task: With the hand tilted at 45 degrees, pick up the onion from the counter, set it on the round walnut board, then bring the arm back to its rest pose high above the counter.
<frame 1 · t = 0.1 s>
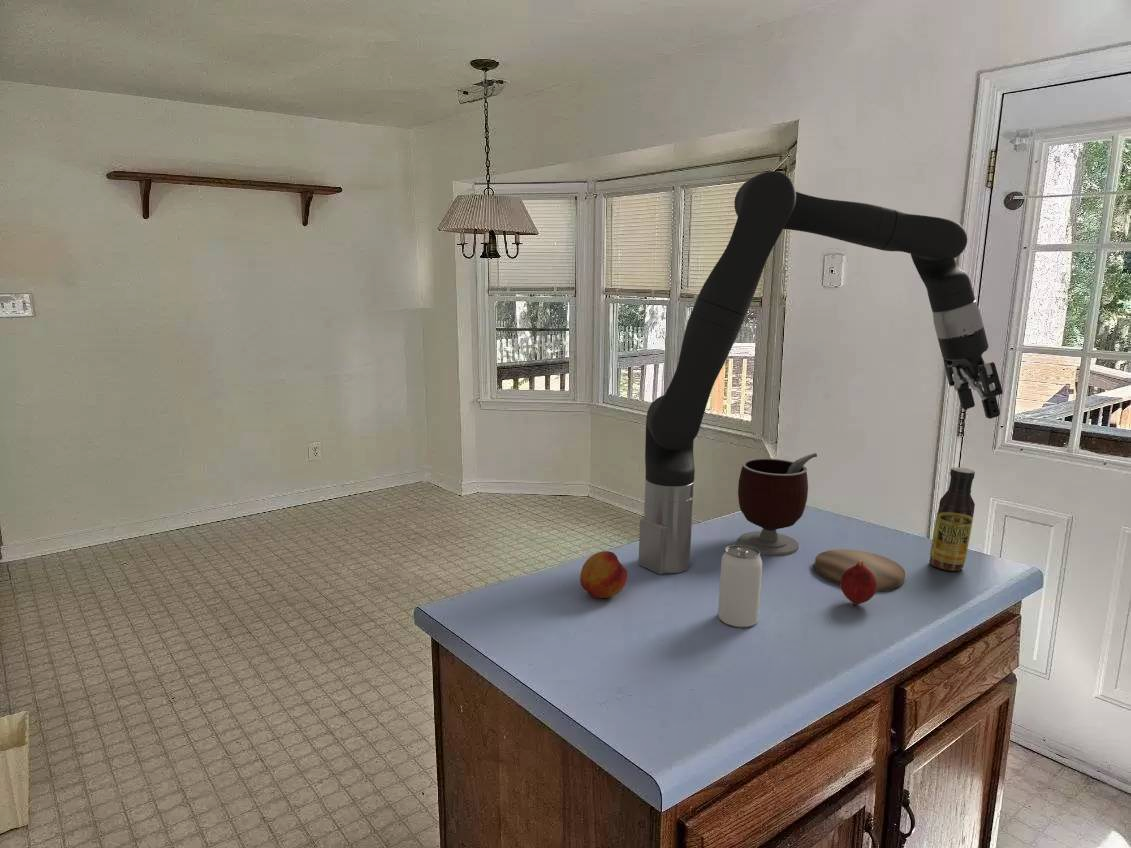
hand: (980, 412, 134), 31 cm above the counter, tool tilted 20°, fingers open, 8 cm apart
mate gourd: (772, 545, 153), on the counter
sauce bottle: (947, 567, 142), on the counter
can: (737, 620, 120), on the counter
fruit: (603, 596, 127), on the counter
walnut board: (858, 572, 139), on the counter
onion: (856, 605, 126), on the counter
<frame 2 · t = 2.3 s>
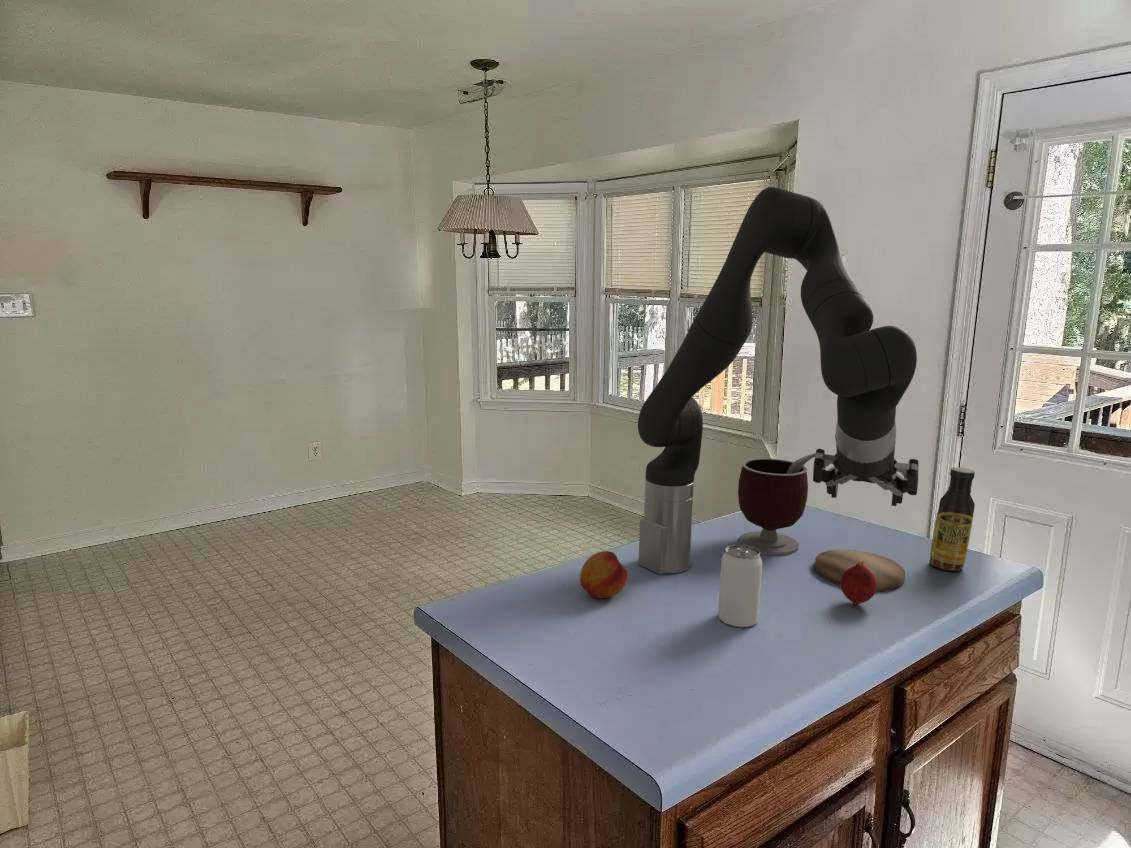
hand: (864, 496, 111), 23 cm above the counter, tool tilted 45°, fingers open, 8 cm apart
nothing on the counter moved.
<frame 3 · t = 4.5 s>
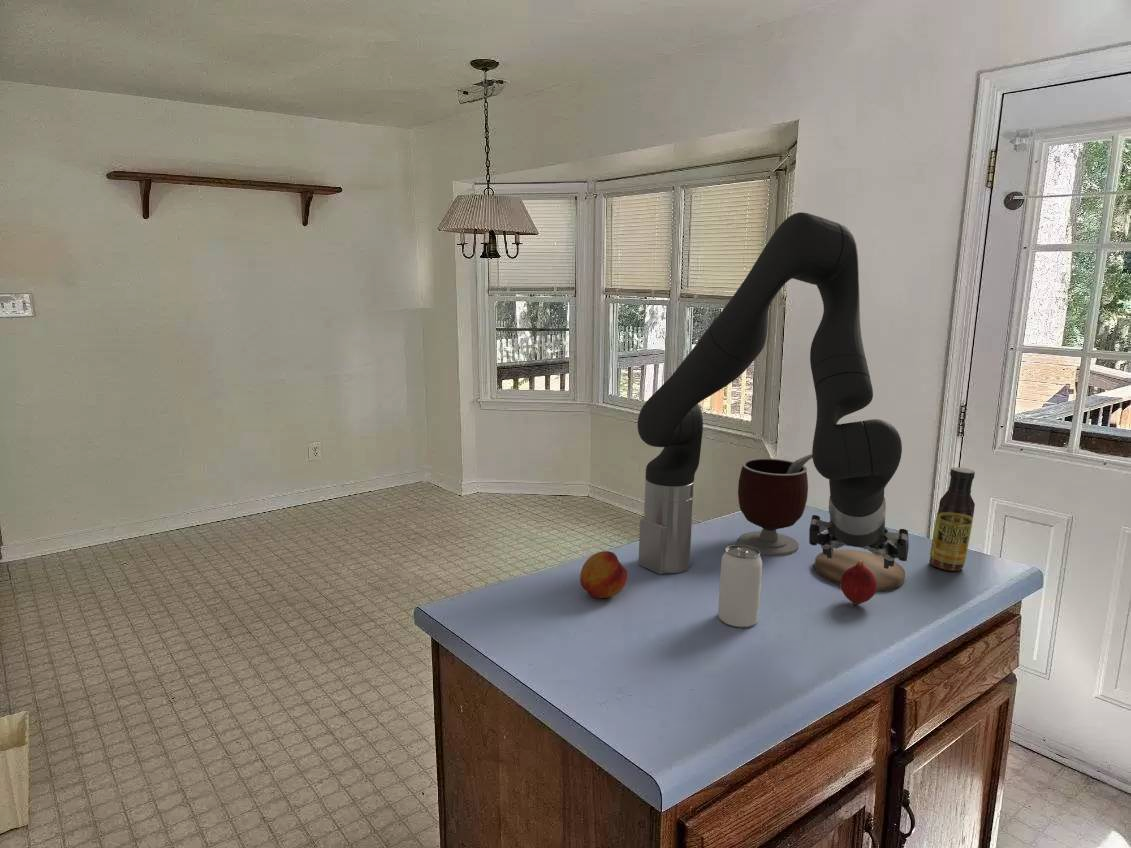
hand: (858, 558, 117), 11 cm above the counter, tool tilted 45°, fingers open, 8 cm apart
nothing on the counter moved.
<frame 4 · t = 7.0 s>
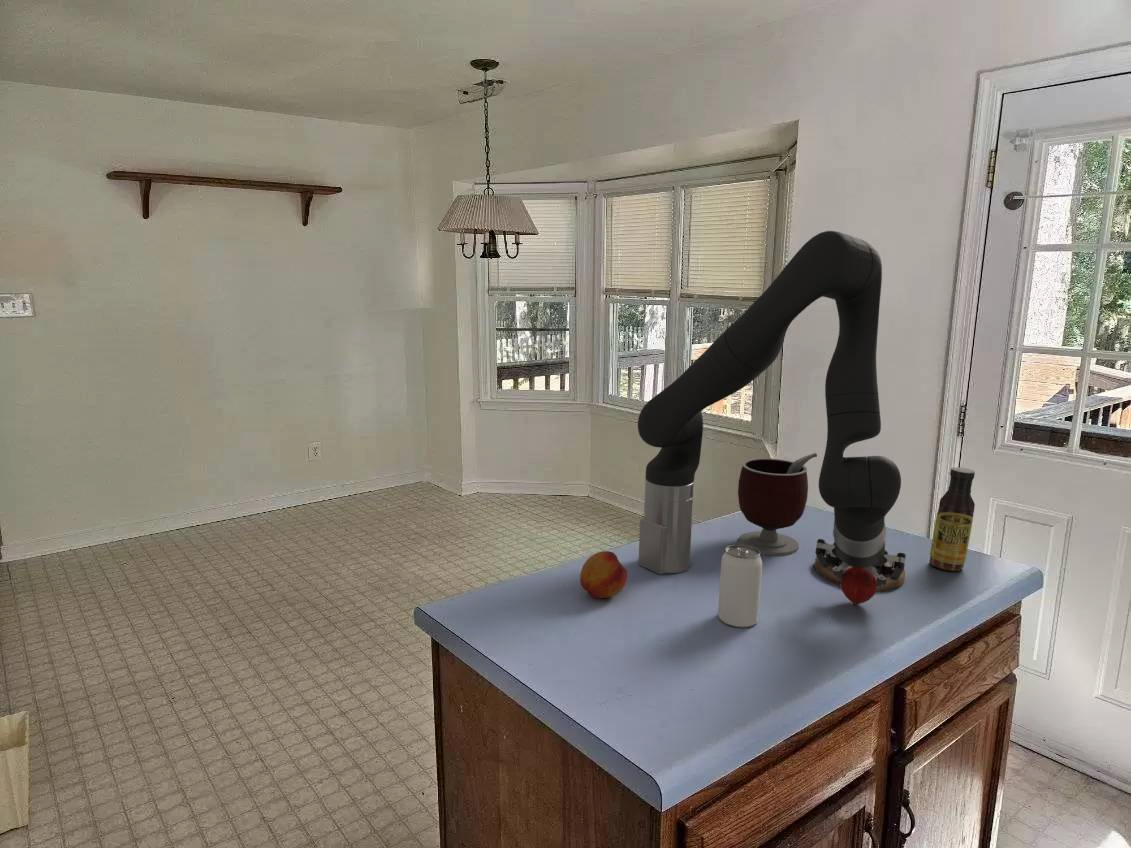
hand: (859, 577, 126), 4 cm above the counter, tool tilted 45°, fingers closed on onion, 5 cm apart
onion: (856, 605, 126), on the counter, touching gripper
everything else where it was.
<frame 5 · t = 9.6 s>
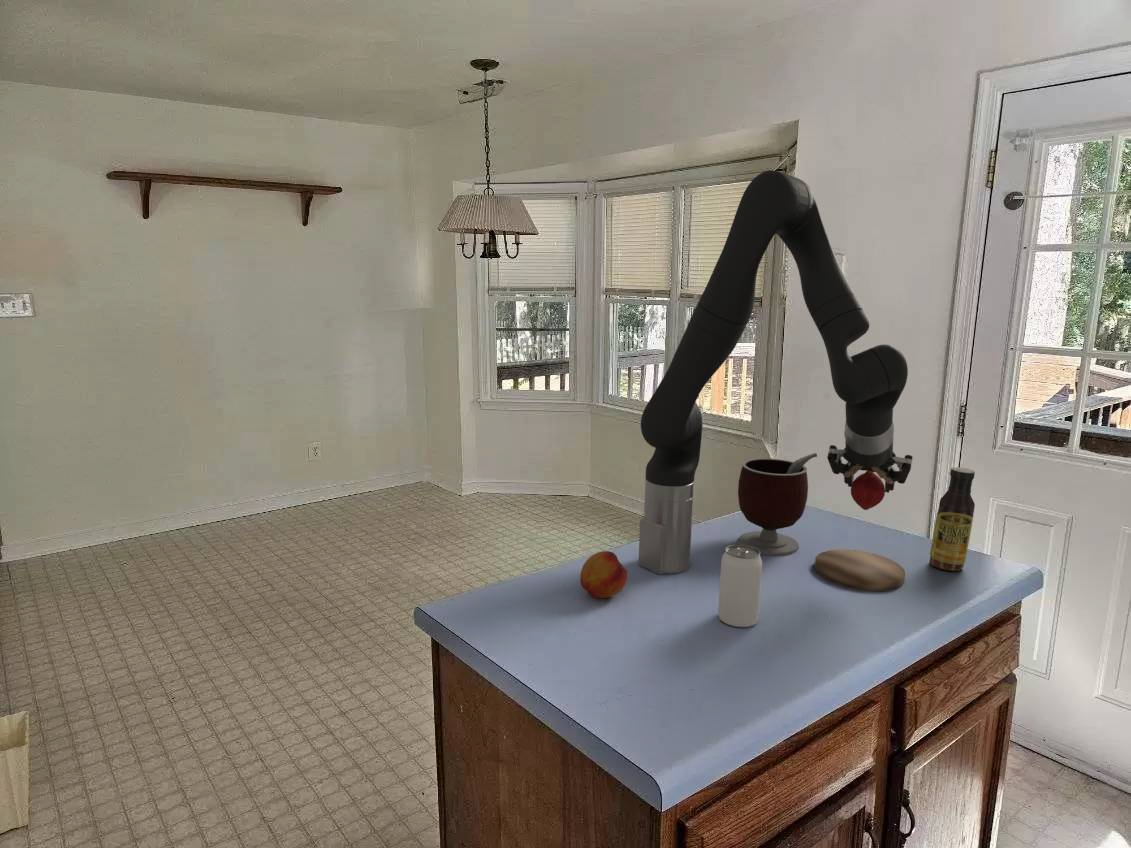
hand: (869, 485, 134), 18 cm above the counter, tool tilted 45°, fingers closed on onion, 5 cm apart
onion: (865, 510, 133), point 13 cm above the counter, touching gripper
everything else where it was.
when the fingers open (7 cm above the counter, at t = 12.4 s): onion drops 1 cm, resting on walnut board.
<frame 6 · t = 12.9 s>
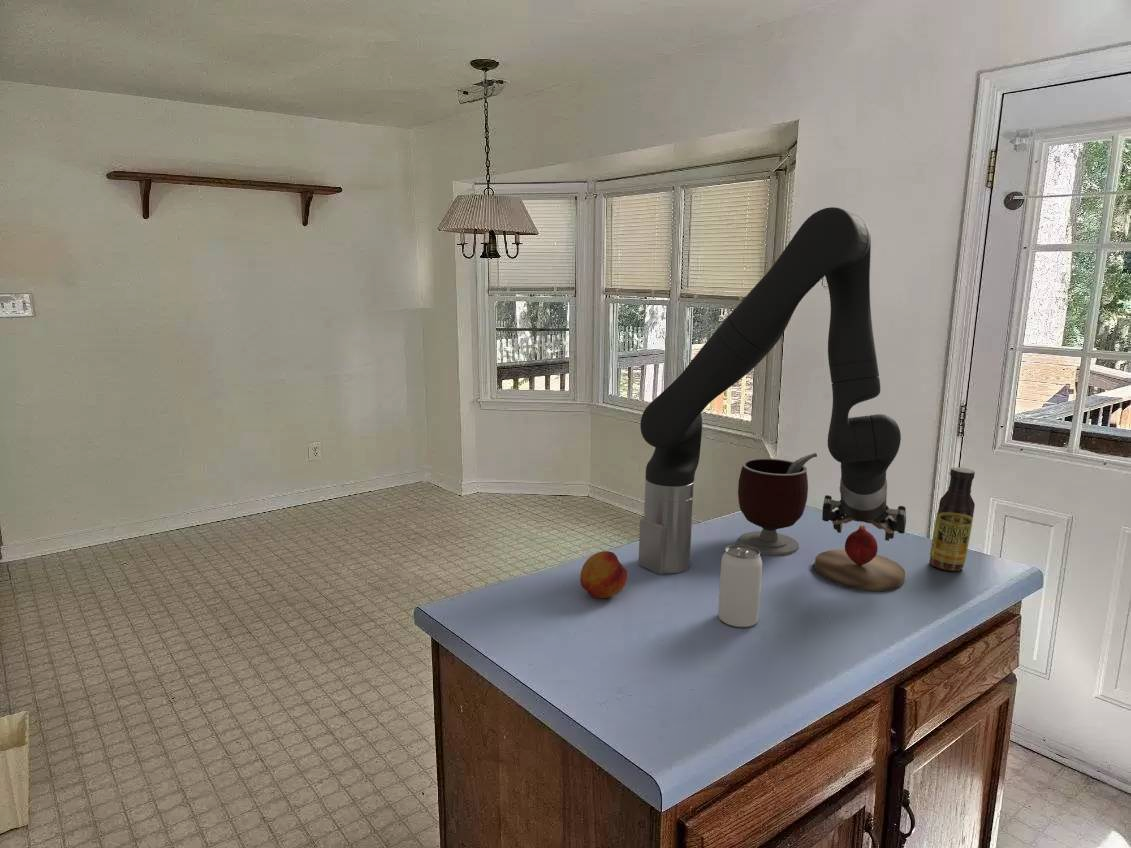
hand: (863, 532, 138), 8 cm above the counter, tool tilted 45°, fingers open, 8 cm apart
onion: (859, 566, 138), point 1 cm above the counter, touching walnut board
everything else where it was.
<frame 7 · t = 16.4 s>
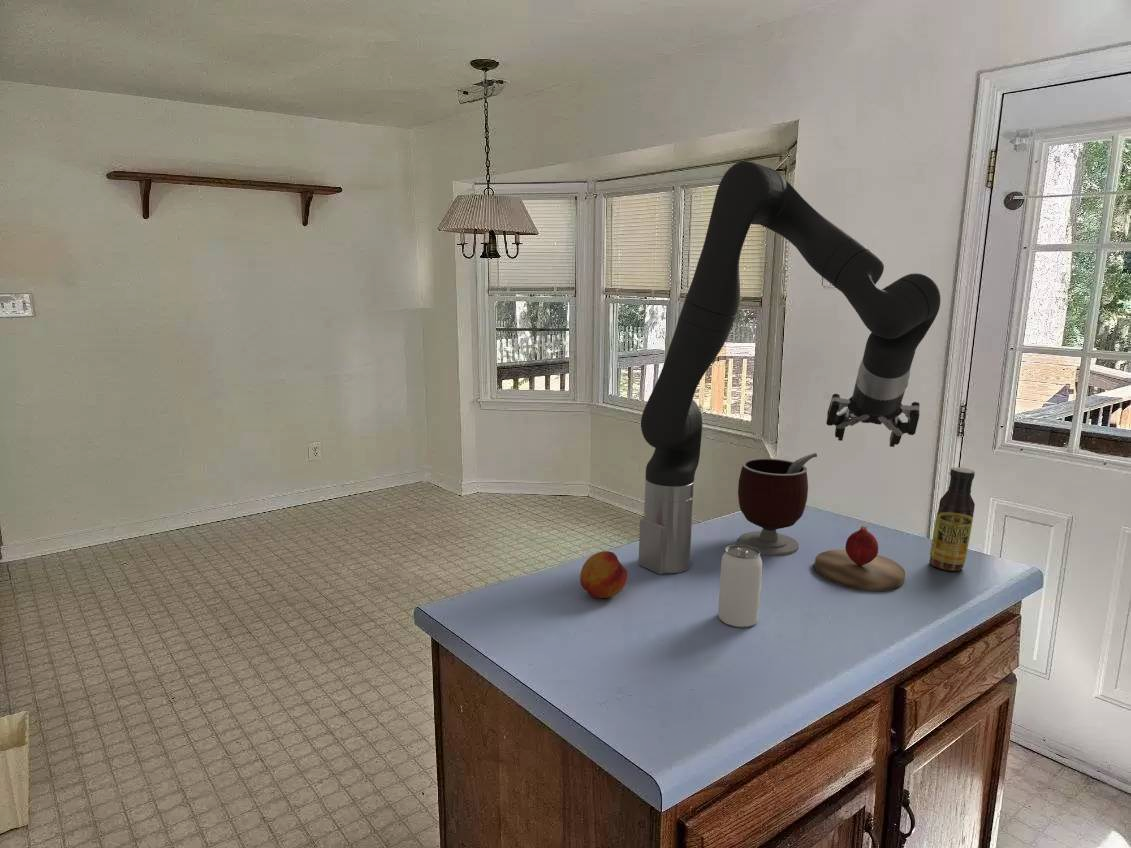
hand: (865, 439, 129), 27 cm above the counter, tool tilted 40°, fingers open, 8 cm apart
nothing on the counter moved.
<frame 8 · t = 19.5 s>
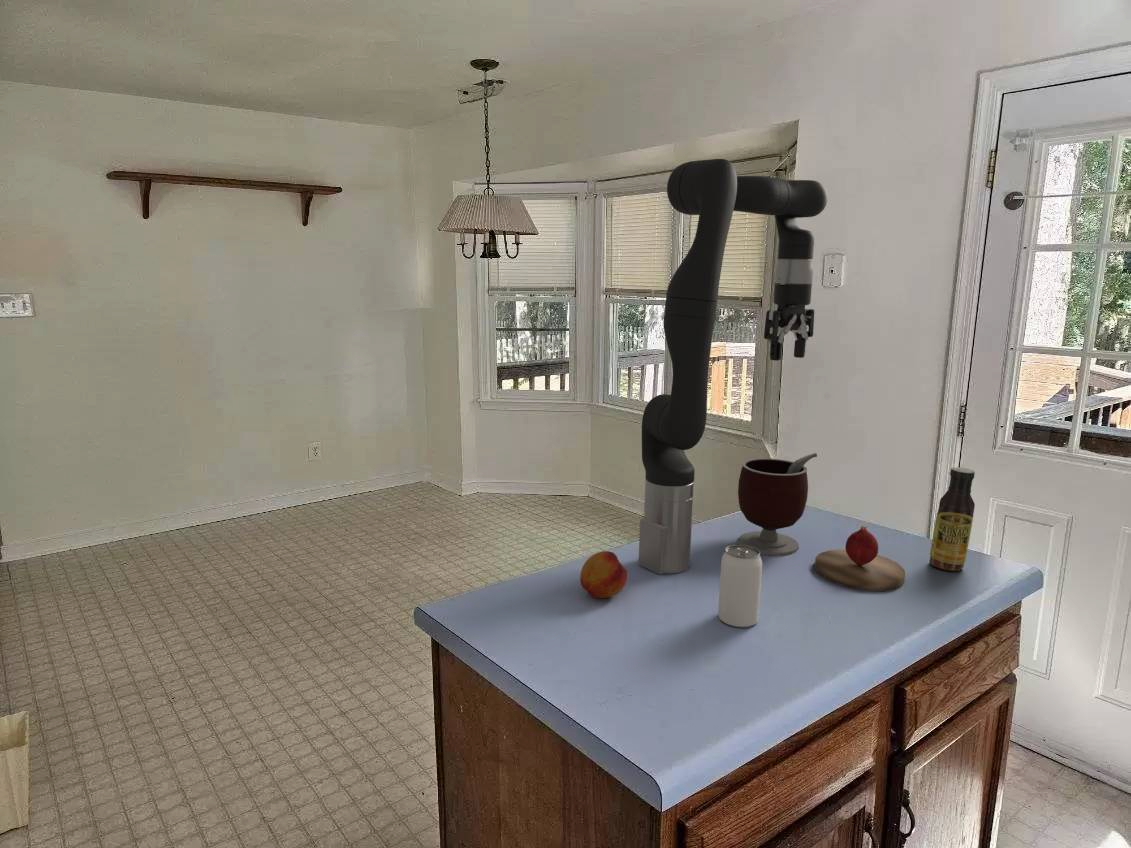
hand: (787, 358, 155), 38 cm above the counter, tool pointing down, fingers open, 8 cm apart
nothing on the counter moved.
at the end: onion inside the target area on the walnut board (0.2 cm from its centre), point 1.3 cm above the walnut board's base; onion touching walnut board; the gripper is holding nothing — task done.
